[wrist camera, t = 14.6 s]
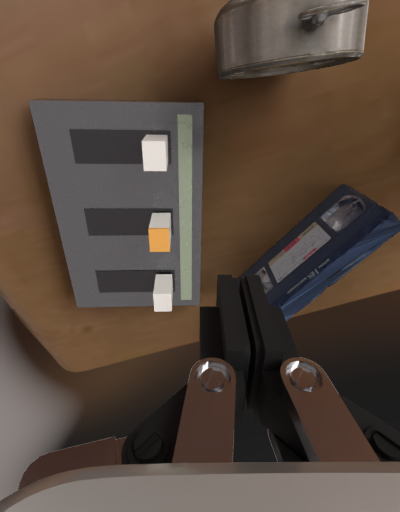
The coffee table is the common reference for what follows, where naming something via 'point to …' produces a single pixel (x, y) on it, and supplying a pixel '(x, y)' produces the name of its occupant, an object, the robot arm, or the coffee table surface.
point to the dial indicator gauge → (287, 36)
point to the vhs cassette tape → (322, 249)
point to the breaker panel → (123, 195)
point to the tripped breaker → (160, 232)
